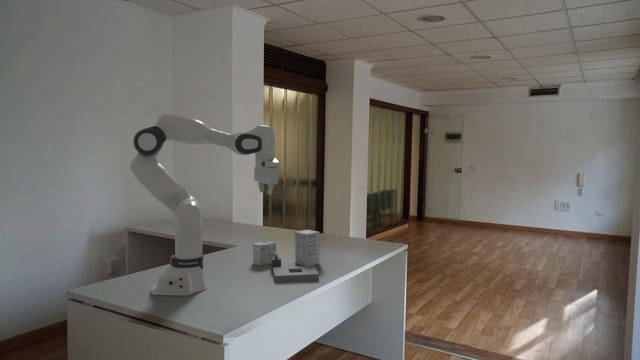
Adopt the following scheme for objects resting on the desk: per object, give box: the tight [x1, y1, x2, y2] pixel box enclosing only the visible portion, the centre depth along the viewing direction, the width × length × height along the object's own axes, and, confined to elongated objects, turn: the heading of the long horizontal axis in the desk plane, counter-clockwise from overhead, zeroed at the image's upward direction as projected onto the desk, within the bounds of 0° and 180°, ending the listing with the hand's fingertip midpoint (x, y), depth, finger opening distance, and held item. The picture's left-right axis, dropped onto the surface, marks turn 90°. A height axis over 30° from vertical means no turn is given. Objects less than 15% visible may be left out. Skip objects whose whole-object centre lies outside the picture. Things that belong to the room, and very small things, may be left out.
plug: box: [271, 253, 282, 273], centre depth 219 cm, size 4×4×8 cm
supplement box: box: [294, 229, 321, 266], centre depth 231 cm, size 10×9×17 cm
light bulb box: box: [252, 240, 277, 267], centre depth 232 cm, size 11×7×11 cm, turn 134°
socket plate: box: [272, 265, 320, 283], centre depth 209 cm, size 20×14×3 cm
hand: (265, 193), depth 198 cm, fingers open, 8 cm apart
